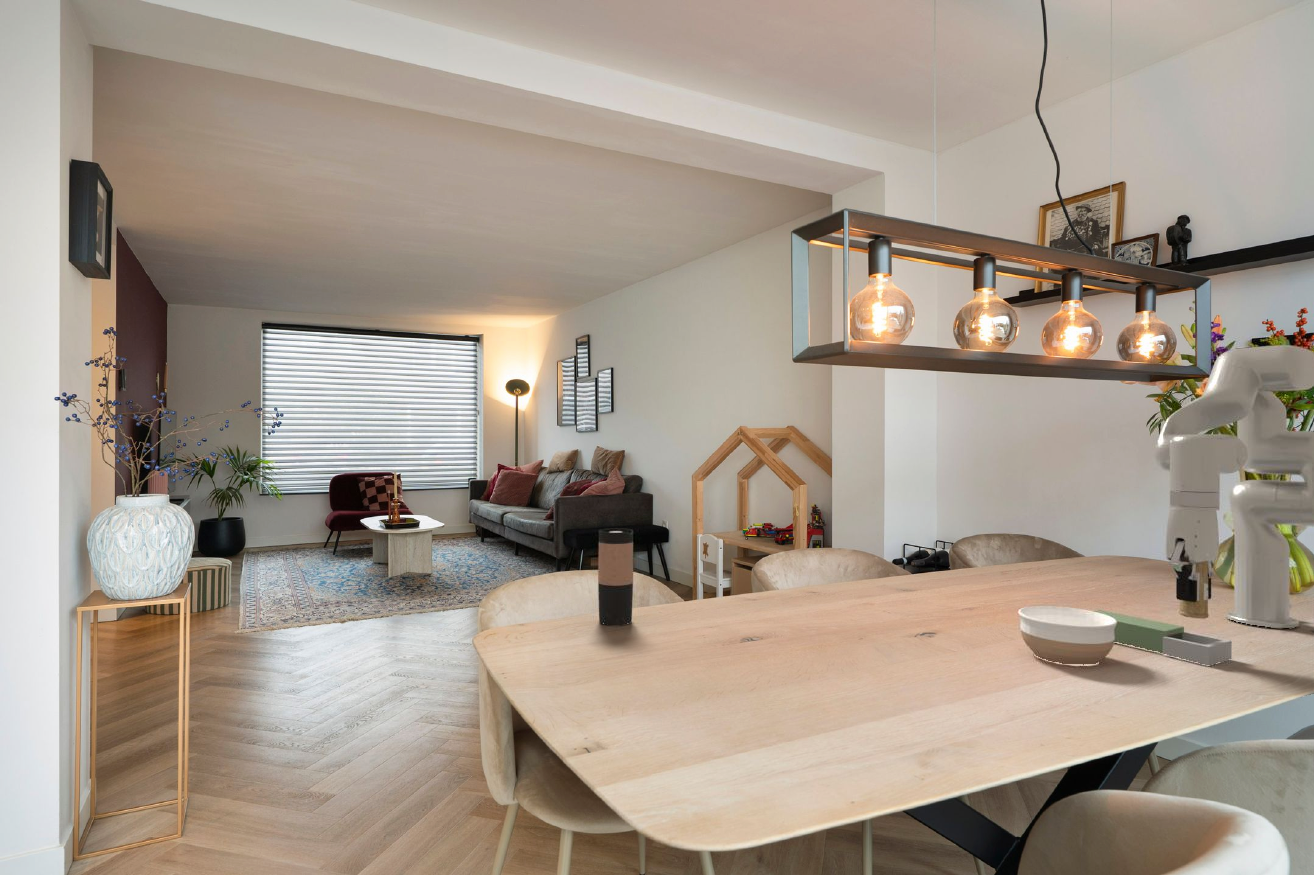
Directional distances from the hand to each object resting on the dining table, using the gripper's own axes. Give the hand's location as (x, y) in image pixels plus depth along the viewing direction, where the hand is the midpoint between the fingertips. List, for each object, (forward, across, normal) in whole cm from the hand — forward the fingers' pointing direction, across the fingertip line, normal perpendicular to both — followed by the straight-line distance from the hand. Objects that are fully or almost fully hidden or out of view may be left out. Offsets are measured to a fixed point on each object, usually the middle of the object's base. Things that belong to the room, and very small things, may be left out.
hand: (1193, 598), depth 138 cm
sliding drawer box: (+11, 0, -8) cm, 13 cm away
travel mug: (+12, +82, -75) cm, 112 cm away
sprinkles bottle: (+4, 0, 0) cm, 4 cm away
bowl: (+11, +21, -11) cm, 27 cm away
